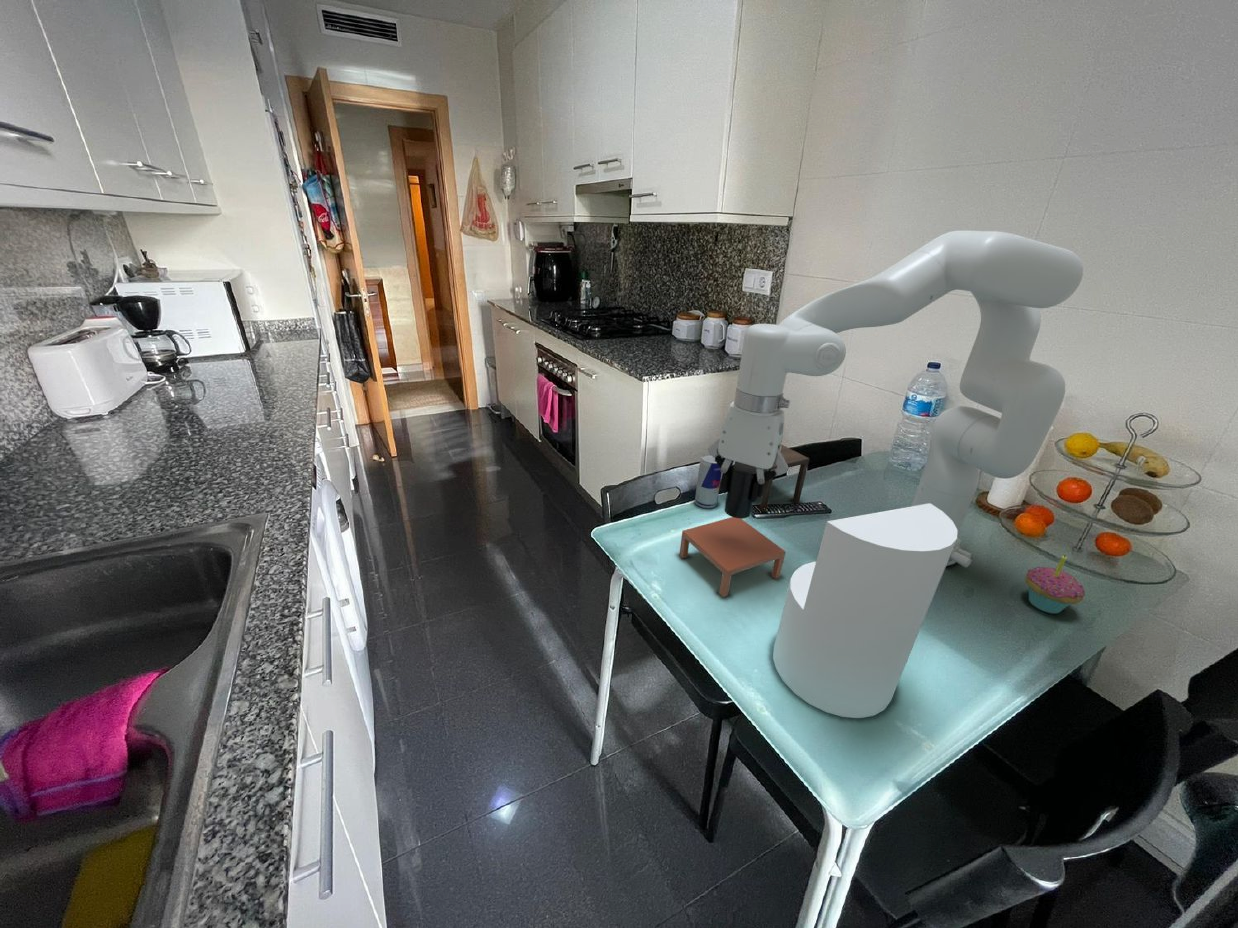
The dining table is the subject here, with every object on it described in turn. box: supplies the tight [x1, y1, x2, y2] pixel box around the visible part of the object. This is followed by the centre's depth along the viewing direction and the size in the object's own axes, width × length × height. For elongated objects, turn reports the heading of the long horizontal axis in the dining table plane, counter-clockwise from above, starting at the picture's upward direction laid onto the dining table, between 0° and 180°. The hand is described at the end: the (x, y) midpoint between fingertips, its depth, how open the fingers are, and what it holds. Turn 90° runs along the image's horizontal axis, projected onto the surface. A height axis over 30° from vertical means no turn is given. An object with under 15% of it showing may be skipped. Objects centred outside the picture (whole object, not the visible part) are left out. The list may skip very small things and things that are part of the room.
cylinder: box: [772, 503, 958, 719], centre depth 71 cm, size 17×17×28 cm
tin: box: [724, 463, 757, 519], centre depth 91 cm, size 5×5×9 cm
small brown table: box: [734, 444, 810, 513], centre depth 123 cm, size 12×12×12 cm
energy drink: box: [694, 453, 722, 509], centre depth 118 cm, size 5×5×12 cm
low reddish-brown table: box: [679, 516, 787, 598], centre depth 98 cm, size 14×14×6 cm
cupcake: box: [1024, 553, 1086, 614], centre depth 90 cm, size 9×8×12 cm
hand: (740, 494), depth 92 cm, fingers closed on tin, 4 cm apart
